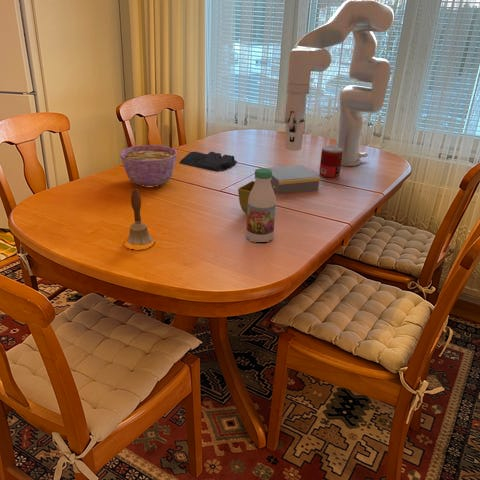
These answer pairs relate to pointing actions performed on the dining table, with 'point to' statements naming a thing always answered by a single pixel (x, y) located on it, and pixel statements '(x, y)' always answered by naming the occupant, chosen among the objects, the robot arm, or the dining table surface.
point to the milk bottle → (261, 208)
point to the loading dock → (293, 179)
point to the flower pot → (246, 195)
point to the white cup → (295, 136)
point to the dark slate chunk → (209, 161)
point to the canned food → (330, 162)
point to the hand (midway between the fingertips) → (293, 142)
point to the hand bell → (138, 223)
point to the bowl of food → (149, 164)
